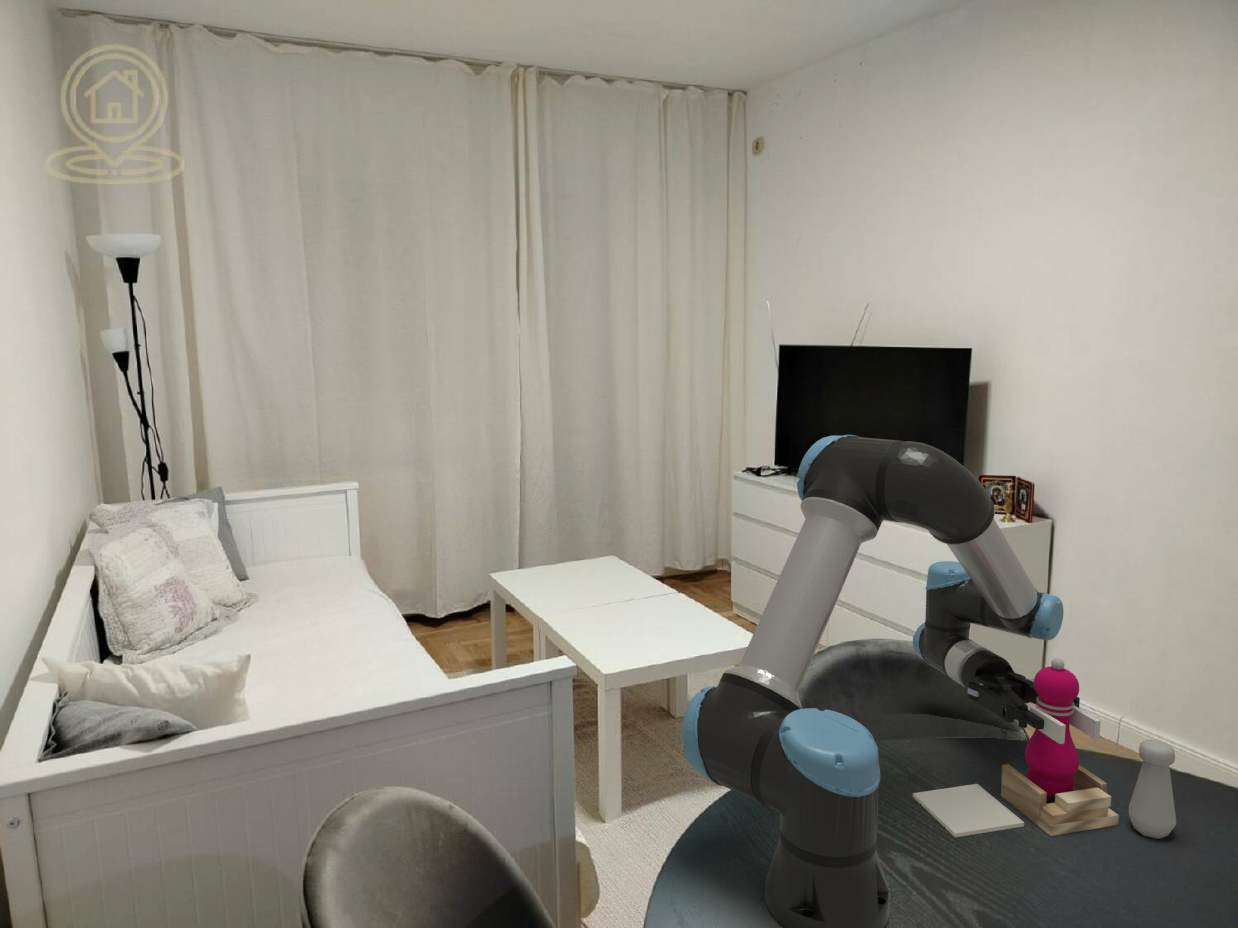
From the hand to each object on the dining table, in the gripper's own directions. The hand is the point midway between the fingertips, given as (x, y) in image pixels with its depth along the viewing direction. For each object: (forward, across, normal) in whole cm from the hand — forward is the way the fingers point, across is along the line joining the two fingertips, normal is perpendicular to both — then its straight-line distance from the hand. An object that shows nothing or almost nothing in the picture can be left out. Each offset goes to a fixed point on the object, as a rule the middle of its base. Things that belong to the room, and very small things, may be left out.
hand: (1080, 732), depth 125 cm
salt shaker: (+5, -9, -14) cm, 17 cm away
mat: (-6, +13, -14) cm, 20 cm away
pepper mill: (-5, 0, -11) cm, 12 cm away
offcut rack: (-3, 0, -14) cm, 14 cm away
